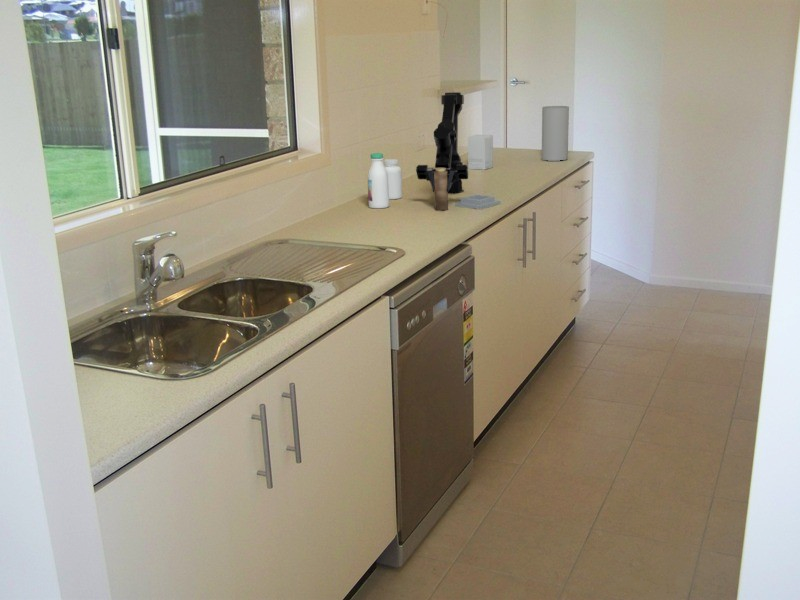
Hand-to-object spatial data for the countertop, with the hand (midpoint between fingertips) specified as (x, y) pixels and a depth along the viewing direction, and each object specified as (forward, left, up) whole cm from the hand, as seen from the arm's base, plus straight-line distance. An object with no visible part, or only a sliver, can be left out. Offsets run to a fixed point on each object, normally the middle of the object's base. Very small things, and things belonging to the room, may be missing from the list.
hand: (440, 191), depth 315 cm
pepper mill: (-1, +1, -7) cm, 7 cm away
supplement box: (-46, +84, -7) cm, 96 cm away
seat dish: (+5, +15, -7) cm, 18 cm away
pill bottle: (-32, +8, -7) cm, 34 cm away
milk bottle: (-24, -8, -7) cm, 26 cm away
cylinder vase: (-30, +122, -7) cm, 126 cm away
